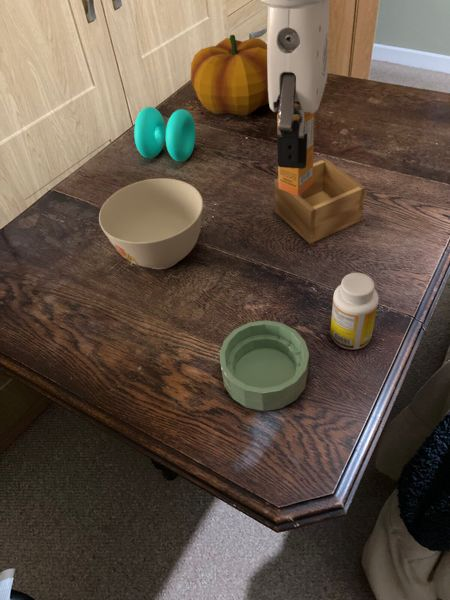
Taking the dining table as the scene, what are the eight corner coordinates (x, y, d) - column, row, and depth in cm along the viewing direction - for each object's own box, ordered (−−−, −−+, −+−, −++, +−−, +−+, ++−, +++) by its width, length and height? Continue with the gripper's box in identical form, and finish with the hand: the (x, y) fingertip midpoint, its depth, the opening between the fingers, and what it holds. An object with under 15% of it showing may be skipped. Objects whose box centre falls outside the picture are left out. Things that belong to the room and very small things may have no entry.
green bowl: (277, 329, 70) (276, 308, 66) (324, 385, 63) (326, 365, 59) (208, 363, 67) (204, 343, 63) (250, 426, 60) (248, 408, 57)
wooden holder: (323, 191, 90) (325, 158, 85) (361, 220, 84) (365, 187, 79) (274, 211, 88) (274, 179, 83) (309, 244, 81) (311, 211, 76)
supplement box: (275, 189, 61) (274, 112, 54) (292, 176, 63) (293, 99, 55) (297, 198, 59) (299, 120, 52) (314, 185, 61) (317, 107, 54)
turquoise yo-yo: (182, 172, 99) (174, 125, 92) (138, 166, 102) (127, 121, 95) (200, 145, 105) (193, 100, 98) (157, 141, 108) (148, 97, 101)
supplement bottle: (367, 318, 69) (376, 266, 62) (374, 350, 66) (386, 298, 58) (327, 320, 70) (331, 269, 62) (332, 352, 66) (338, 301, 59)
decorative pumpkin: (176, 109, 117) (164, 43, 106) (242, 76, 126) (237, 11, 115) (234, 136, 107) (228, 65, 96) (301, 98, 116) (303, 29, 105)
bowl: (105, 244, 86) (88, 197, 78) (190, 215, 89) (182, 167, 82) (130, 304, 76) (113, 256, 68) (225, 269, 79) (219, 220, 71)
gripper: (328, 5, 38) (318, 200, 51) (349, -54, 49) (336, 120, 62) (234, 7, 40) (248, 194, 53) (274, -50, 51) (277, 118, 64)
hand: (295, 153), depth 58 cm, fingers closed on supplement box, 4 cm apart
